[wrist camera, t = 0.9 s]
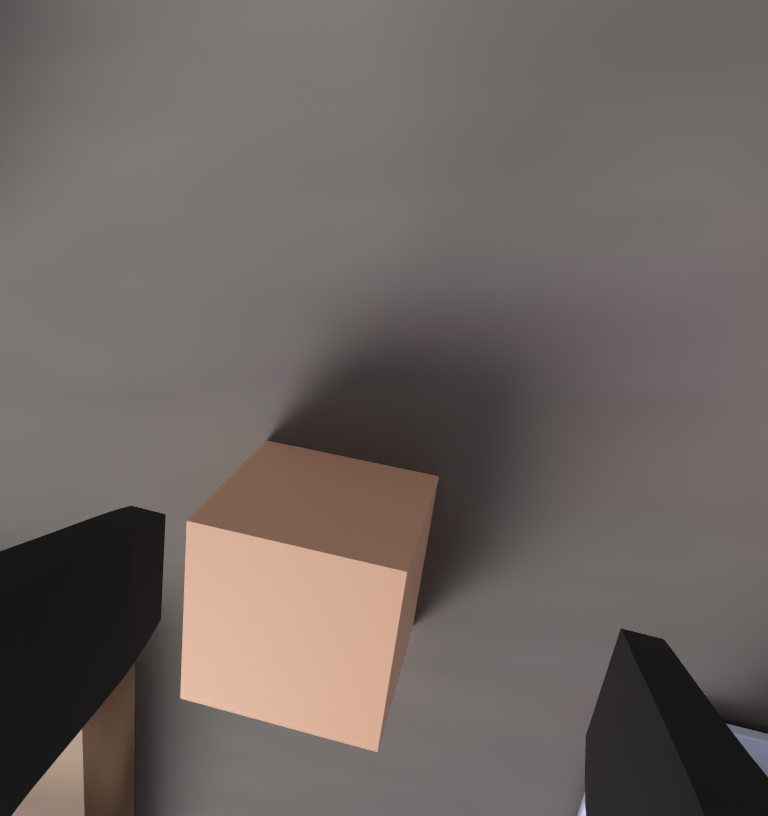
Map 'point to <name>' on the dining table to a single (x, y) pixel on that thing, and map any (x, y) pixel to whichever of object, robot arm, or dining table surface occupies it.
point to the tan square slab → (93, 765)
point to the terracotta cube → (305, 590)
